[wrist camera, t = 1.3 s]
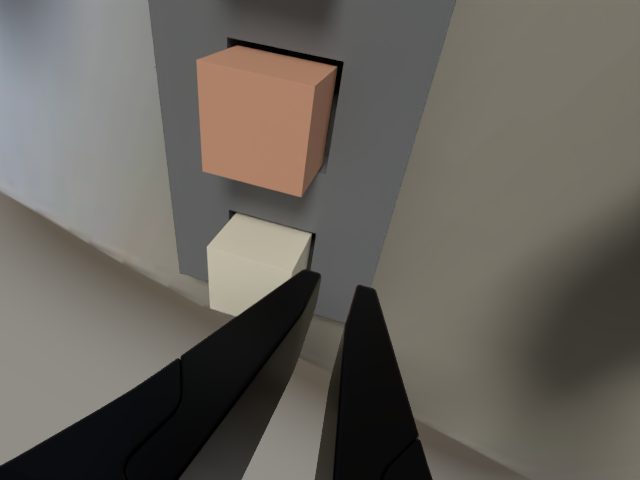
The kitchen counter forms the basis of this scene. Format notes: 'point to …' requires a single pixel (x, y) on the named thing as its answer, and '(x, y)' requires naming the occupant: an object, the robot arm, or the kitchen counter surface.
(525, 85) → the kitchen counter surface
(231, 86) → the terracotta button
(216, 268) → the cream button
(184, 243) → the button board
